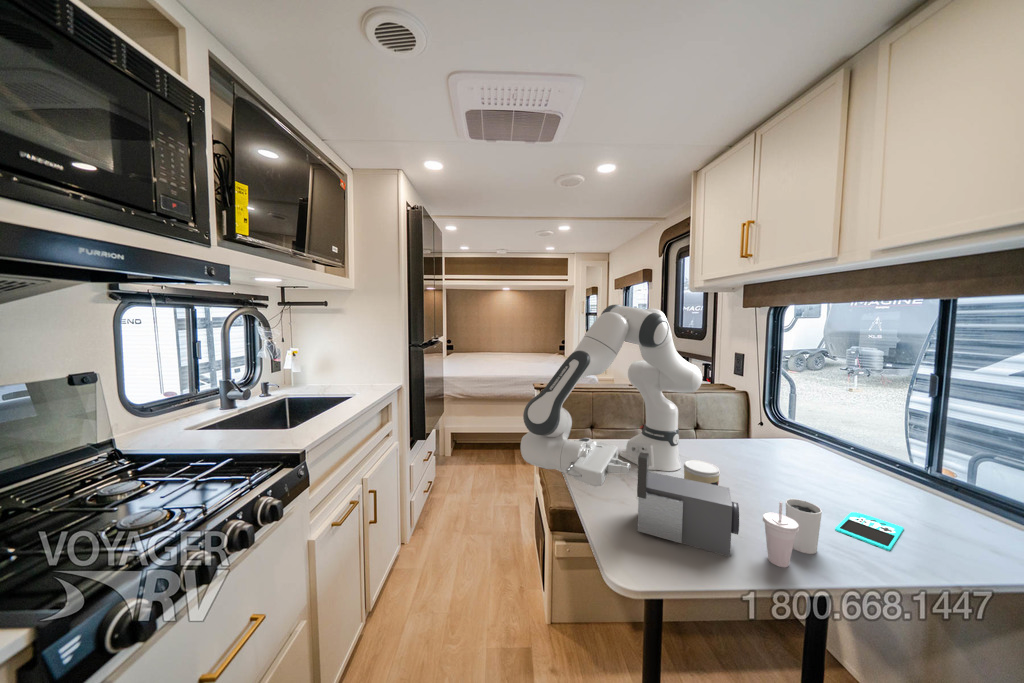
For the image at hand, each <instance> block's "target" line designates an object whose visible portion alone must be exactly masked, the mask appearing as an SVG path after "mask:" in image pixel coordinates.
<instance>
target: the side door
mask: <svg viewBox="0 0 1024 683" xmlns="http://www.w3.org/2000/svg"><path fill="white" fill-rule="evenodd" d="M648 468H649V454H648V453H643V452H640V454H639V456H638V465H637V488H636V491H637V494H636V497H637V498H638V500H637V503H638V504H637V505H638V506H637V507H638V508H637V532H640V533H643V534H646V535H651V536H654V537H658V538H660V539H661V538H662V539H665V540H669V541H672V542H675V543H678V544H682V519H683V501H681V500H677V499H672V498H668V497H663V496H659V495H655V494H650V493H648V472H649V470H648Z"/></svg>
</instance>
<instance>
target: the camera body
mask: <svg viewBox="0 0 1024 683" xmlns="http://www.w3.org/2000/svg"><path fill="white" fill-rule="evenodd" d="M648 493H650V494H655V495H659V496H663V497H668V498H672V499H677V500H681V501H683V519H682V543H681V544H683V545H685V546H689V547H693V548H696V549H701V550H704V551H708V552H710V553H715V554H718V555H722V556H726V557H729V558H730V557H731V546H732V544H731V543H732V534H734V535H739V532H740V508H739V502H736V501H732V497H731V492H730V487H728V486H727V487H726V486H721V485H719V484H718V485H713V484H708V483H703V482H698V481H693V480H688V479H684V478H682V477H678V476H677V477H676V476H674V475H673V476H672V475H667V474H662V473H657V472H651V471H648Z"/></svg>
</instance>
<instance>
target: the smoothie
mask: <svg viewBox="0 0 1024 683" xmlns="http://www.w3.org/2000/svg"><path fill="white" fill-rule="evenodd" d="M778 504H779V505H778V506H779V507H778V513H777V512H766V513H763V515H762V522H763V523H764V530H765V540H766V541H765V542H766V549H767V551H766V552H767V559H768V561H769V562H770V563H772V564H773V565H775V566H777V567H780V568H788V567H789V566H790V562H791V557H792V552H793V550H794V549H793V544H794V540H795V536H796V532H798V530H799V528H798V527H799V525H798V523H797V522H796V521H794V520H793V519H791V518H789V517H787V516H786V514H783V506H784V505H783V501H779V503H778Z"/></svg>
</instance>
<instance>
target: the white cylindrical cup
mask: <svg viewBox="0 0 1024 683" xmlns="http://www.w3.org/2000/svg"><path fill="white" fill-rule="evenodd" d="M822 512H823V511H822V509H821V507H820V506H818V505H816V504H814V503H812V502H810V501H807V500H803V499H799V498H787V499H786V500H785V516H787V517H789V518H791V519H793V520H794V521H796V522H797V523H798V525H799V527H798V528H799V530H798V532H796V536H795V540H794V544H793V549H792V550H795V551H796V552H800V553H803V554H808V555H813V554H817V552H818V547H819V546H818V544H819V538H820V529H821V521H822Z"/></svg>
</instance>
